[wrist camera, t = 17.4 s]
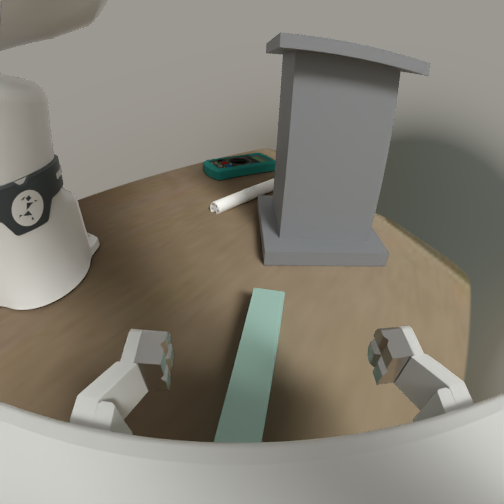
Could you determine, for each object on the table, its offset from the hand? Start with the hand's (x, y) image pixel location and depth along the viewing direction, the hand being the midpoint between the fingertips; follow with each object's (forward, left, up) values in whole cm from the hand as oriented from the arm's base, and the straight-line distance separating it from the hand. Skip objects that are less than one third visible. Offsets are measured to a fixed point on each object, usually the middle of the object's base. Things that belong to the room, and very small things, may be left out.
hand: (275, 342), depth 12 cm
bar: (-3, +3, -13) cm, 14 cm away
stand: (-12, +30, -13) cm, 35 cm away
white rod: (-26, +34, -14) cm, 45 cm away
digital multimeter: (-37, +43, -14) cm, 58 cm away
